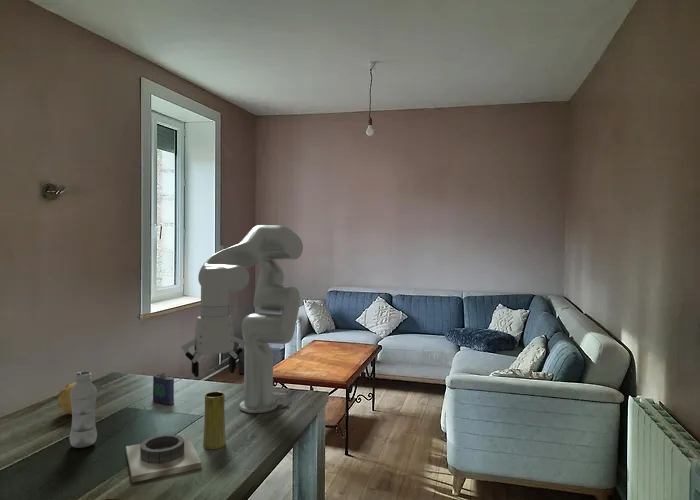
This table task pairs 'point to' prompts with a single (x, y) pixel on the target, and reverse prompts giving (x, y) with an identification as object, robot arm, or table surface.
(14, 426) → the table surface
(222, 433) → the vase
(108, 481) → the table surface
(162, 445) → the plate
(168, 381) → the flask
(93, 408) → the plastic bottle
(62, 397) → the stress ball
